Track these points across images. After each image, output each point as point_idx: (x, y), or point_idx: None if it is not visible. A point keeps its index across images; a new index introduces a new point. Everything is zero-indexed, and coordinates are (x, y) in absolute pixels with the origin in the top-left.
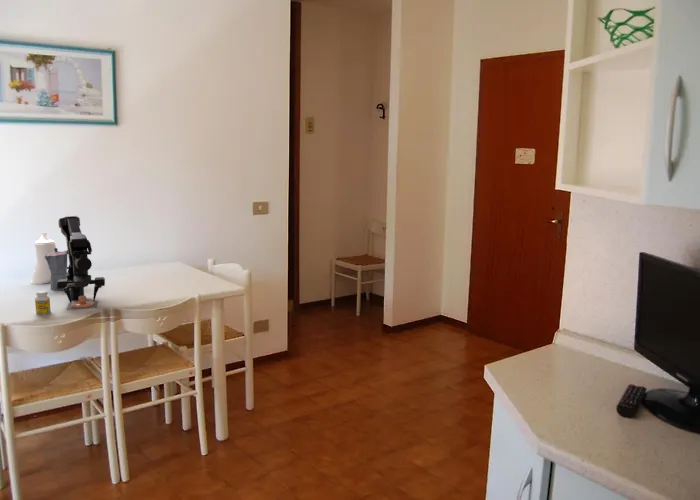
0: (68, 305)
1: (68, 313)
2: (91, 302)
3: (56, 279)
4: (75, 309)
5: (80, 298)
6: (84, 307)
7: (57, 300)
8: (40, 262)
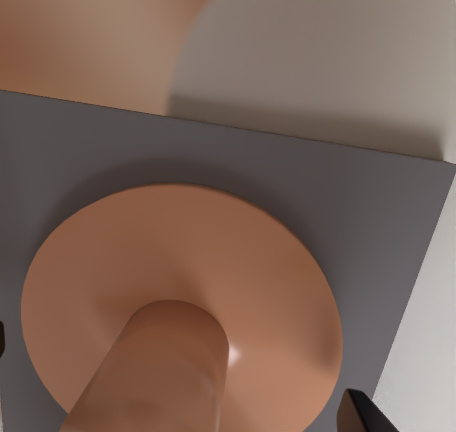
0: None
1: (449, 2)
2: (55, 347)
3: None
4: (308, 141)
5: (180, 390)
6: (162, 182)
7: None
8: None
